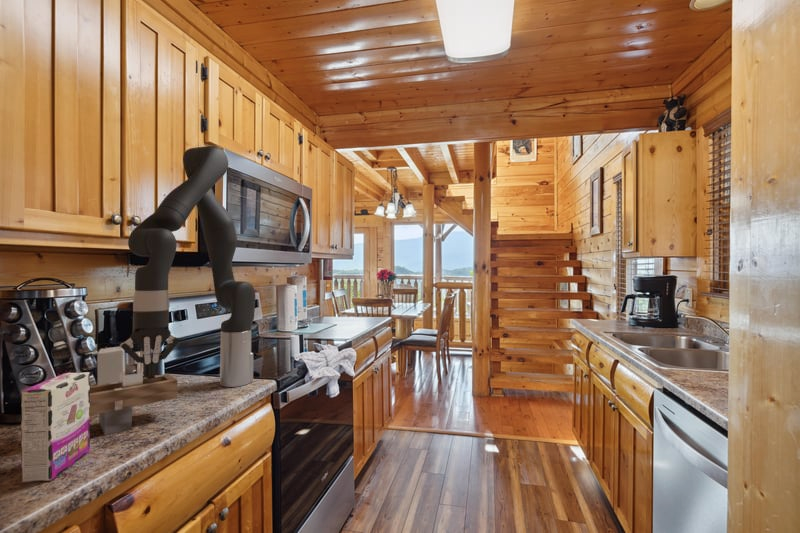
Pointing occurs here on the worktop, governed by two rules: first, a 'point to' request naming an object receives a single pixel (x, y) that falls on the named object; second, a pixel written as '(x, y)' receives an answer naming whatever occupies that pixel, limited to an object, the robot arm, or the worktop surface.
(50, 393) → the candy bar box
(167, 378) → the beam
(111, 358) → the skincare box
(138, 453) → the worktop surface
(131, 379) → the rider
